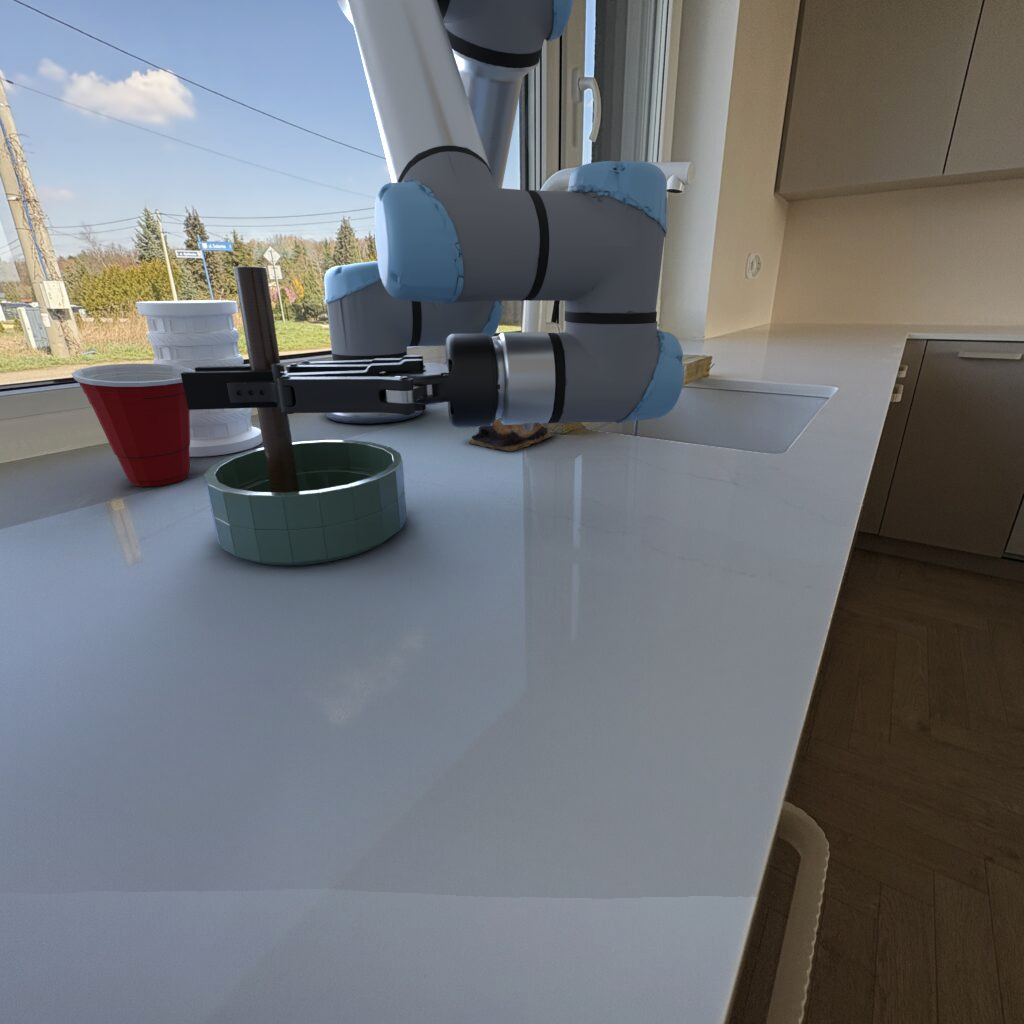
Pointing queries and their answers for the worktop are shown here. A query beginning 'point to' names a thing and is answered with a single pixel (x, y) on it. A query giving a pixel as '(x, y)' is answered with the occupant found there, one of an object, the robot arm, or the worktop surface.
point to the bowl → (308, 503)
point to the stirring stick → (261, 357)
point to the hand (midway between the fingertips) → (193, 387)
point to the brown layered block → (509, 436)
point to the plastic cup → (142, 418)
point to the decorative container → (202, 365)
